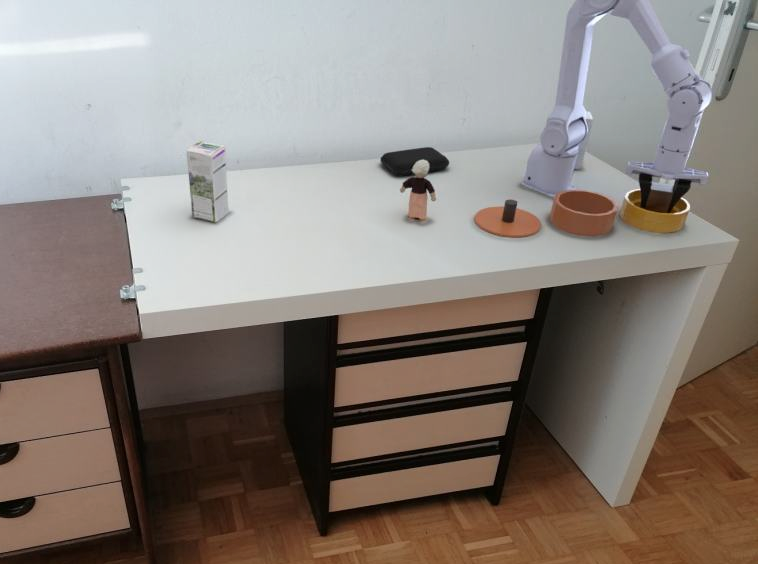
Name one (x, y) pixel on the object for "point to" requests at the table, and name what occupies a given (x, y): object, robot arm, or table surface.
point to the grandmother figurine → (419, 191)
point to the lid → (507, 220)
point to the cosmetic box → (583, 142)
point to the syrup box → (208, 181)
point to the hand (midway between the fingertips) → (653, 211)
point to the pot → (583, 223)
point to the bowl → (653, 215)
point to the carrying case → (413, 160)
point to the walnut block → (659, 197)
